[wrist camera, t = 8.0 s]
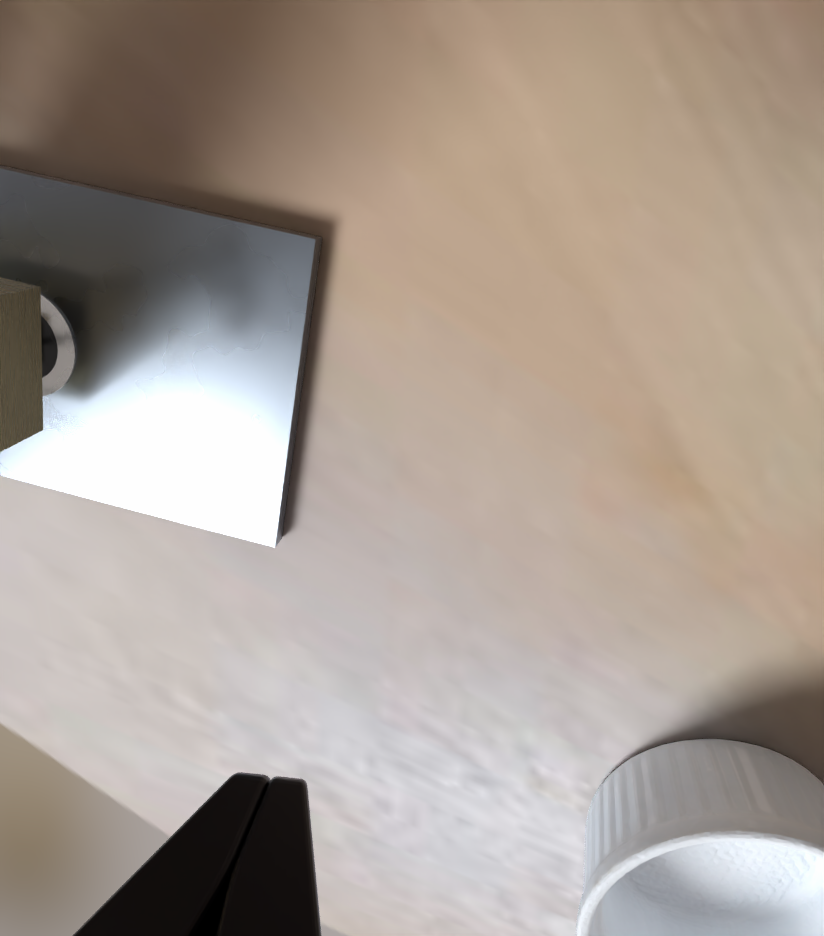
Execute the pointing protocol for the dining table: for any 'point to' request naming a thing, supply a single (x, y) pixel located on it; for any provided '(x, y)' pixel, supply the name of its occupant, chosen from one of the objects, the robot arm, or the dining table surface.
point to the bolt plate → (161, 352)
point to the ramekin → (705, 845)
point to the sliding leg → (20, 362)
